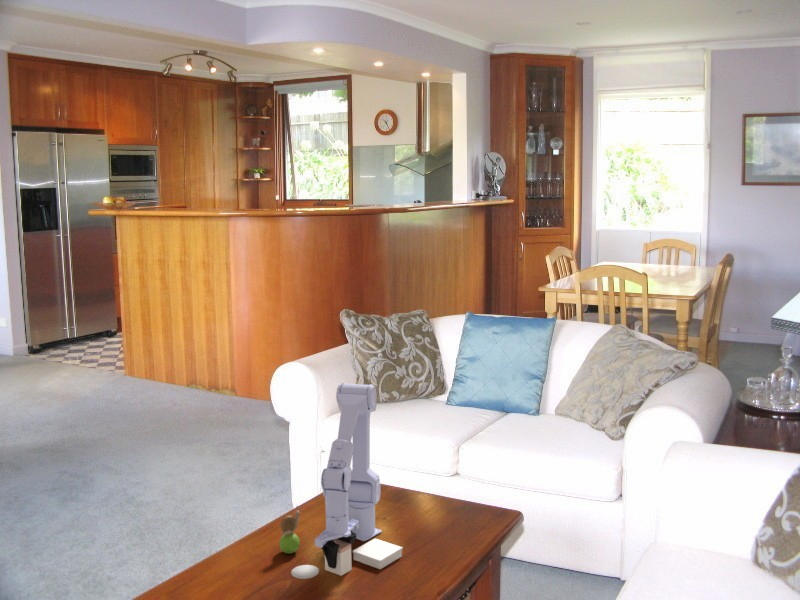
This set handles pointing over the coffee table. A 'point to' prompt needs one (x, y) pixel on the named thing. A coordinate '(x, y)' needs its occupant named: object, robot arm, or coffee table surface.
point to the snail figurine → (289, 534)
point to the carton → (341, 559)
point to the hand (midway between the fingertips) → (338, 563)
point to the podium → (377, 553)
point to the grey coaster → (304, 571)
